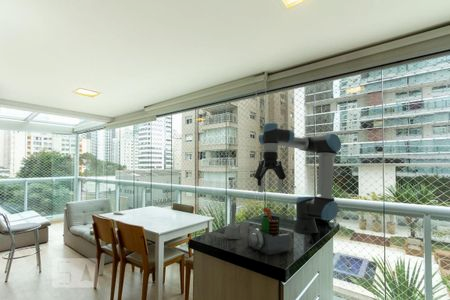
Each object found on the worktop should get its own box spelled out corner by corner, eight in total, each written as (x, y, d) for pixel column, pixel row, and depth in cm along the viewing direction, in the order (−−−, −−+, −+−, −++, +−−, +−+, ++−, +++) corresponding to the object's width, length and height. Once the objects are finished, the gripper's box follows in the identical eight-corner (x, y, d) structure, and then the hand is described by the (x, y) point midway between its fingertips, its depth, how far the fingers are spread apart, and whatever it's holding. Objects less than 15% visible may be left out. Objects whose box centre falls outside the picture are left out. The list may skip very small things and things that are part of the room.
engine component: (223, 238, 137) (240, 239, 135) (223, 202, 138) (240, 203, 136) (226, 233, 147) (242, 234, 145) (227, 200, 149) (243, 201, 147)
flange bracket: (267, 241, 132) (268, 222, 132) (289, 250, 118) (289, 229, 119) (242, 246, 122) (242, 225, 123) (262, 256, 109) (262, 233, 110)
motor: (274, 252, 115) (274, 210, 117) (257, 248, 120) (258, 208, 121) (281, 246, 124) (281, 208, 125) (265, 243, 128) (265, 206, 130)
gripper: (282, 153, 136) (282, 190, 134) (247, 150, 123) (247, 191, 121) (292, 152, 129) (292, 191, 128) (256, 150, 116) (256, 193, 115)
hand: (270, 191), depth 124 cm, fingers open, 13 cm apart
